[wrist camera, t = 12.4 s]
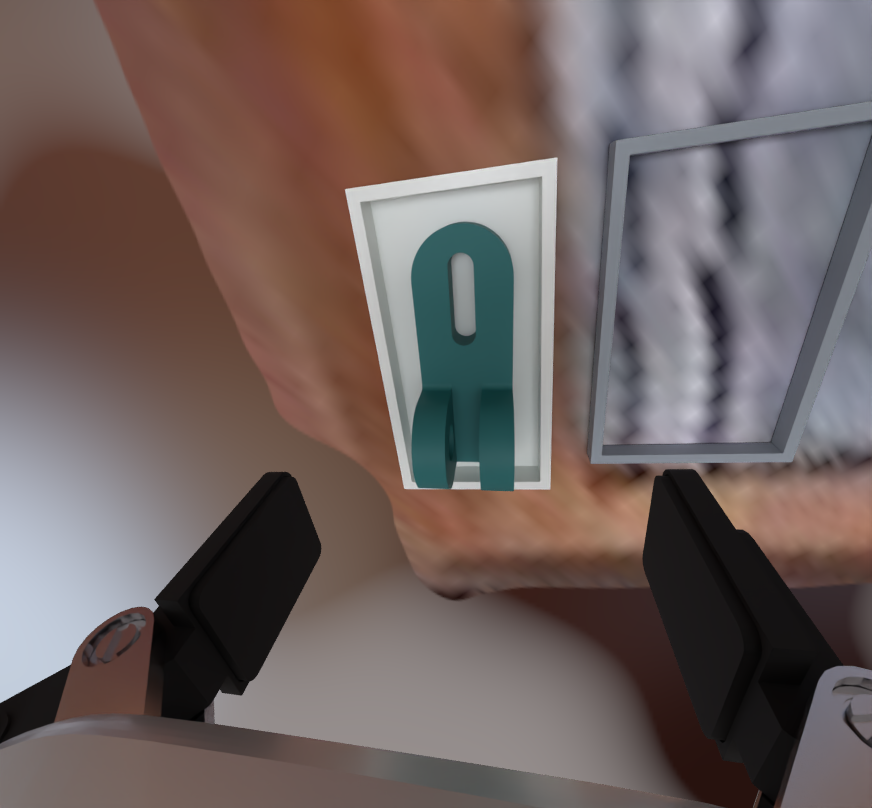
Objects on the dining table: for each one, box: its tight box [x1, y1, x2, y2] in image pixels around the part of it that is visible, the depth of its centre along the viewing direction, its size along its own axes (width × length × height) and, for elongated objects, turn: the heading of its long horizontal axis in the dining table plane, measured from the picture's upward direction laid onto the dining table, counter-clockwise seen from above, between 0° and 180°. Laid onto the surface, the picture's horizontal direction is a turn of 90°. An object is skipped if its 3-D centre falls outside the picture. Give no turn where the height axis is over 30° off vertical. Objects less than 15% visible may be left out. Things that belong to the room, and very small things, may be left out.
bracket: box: [411, 222, 515, 491], centre depth 26 cm, size 18×7×8 cm, turn 5°
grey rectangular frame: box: [587, 101, 872, 464], centre depth 26 cm, size 15×23×2 cm, turn 7°
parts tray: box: [345, 158, 557, 489], centre depth 29 cm, size 13×24×3 cm, turn 7°
